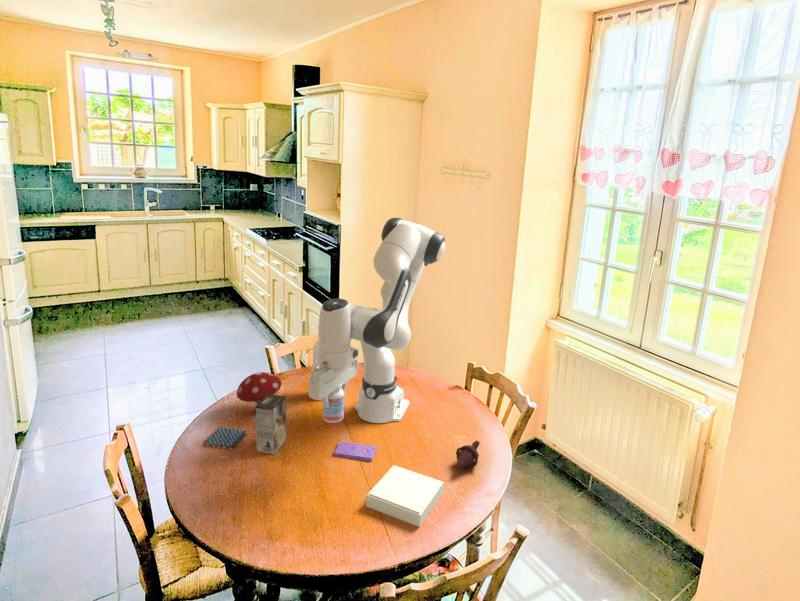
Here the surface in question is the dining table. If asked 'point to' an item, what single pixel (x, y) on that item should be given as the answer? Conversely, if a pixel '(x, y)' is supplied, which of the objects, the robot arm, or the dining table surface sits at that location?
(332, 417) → the pill bottle
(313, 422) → the dining table surface
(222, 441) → the woven mat
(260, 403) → the coffee box
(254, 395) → the decorative mushroom
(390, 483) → the base block
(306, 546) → the dining table surface
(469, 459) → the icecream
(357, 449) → the sponges
